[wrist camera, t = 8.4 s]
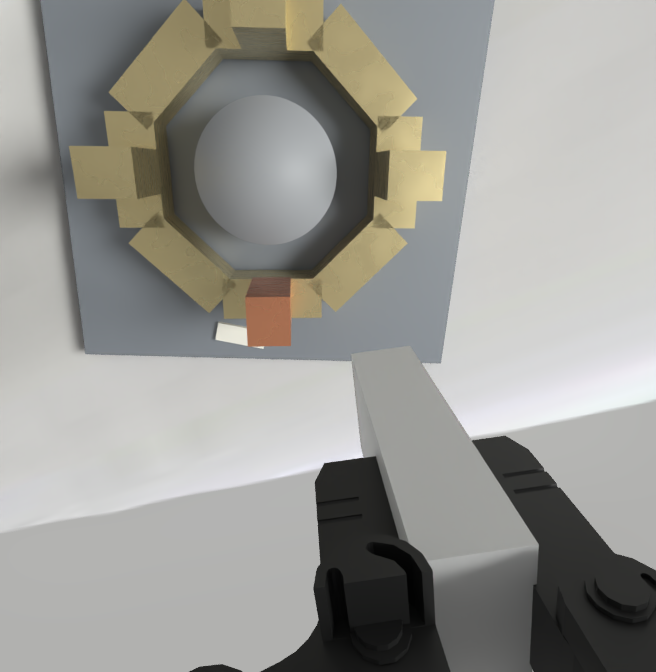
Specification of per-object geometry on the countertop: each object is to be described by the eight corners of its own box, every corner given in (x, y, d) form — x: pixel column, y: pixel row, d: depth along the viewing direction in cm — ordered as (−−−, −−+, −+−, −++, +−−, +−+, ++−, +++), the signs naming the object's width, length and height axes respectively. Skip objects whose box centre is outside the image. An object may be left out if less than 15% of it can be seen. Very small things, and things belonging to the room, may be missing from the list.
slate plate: (91, 348, 32) (48, 387, 26) (37, -92, 24) (-42, -171, 18) (436, 357, 34) (464, 396, 28) (494, -47, 26) (550, -106, 20)
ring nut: (104, 0, 24) (34, -59, 18) (420, 11, 25) (463, -42, 19) (143, 309, 30) (102, 348, 23) (401, 306, 31) (429, 344, 25)
